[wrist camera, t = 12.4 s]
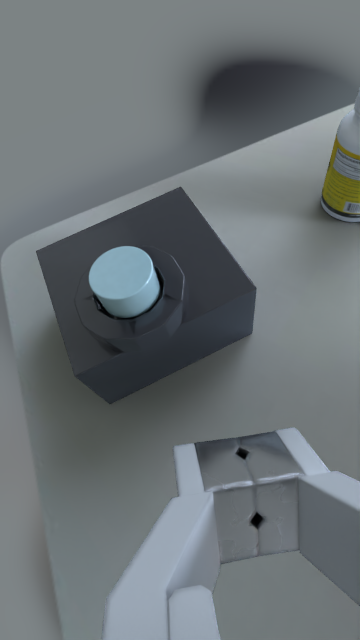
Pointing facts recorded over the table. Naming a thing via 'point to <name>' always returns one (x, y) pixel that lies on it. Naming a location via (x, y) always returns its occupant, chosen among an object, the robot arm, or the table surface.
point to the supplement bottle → (344, 170)
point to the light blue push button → (125, 281)
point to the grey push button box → (168, 311)
